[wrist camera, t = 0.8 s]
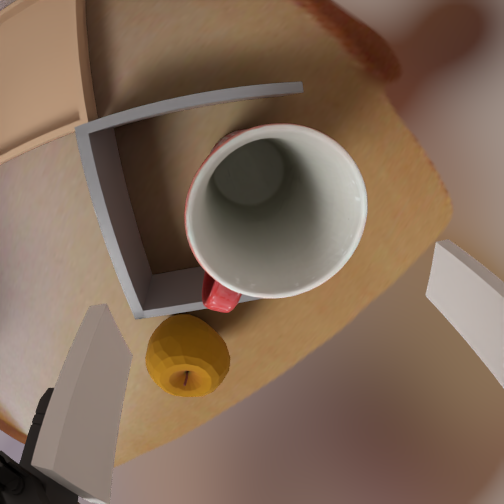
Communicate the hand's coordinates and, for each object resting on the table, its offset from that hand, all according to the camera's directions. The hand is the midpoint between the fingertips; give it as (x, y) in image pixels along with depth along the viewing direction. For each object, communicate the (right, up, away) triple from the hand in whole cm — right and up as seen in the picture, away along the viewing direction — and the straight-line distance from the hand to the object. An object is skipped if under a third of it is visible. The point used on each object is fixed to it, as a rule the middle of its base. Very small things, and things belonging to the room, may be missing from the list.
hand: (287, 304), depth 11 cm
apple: (-8, -7, +22) cm, 25 cm away
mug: (-3, +8, +16) cm, 18 cm away
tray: (-23, +19, +7) cm, 31 cm away
